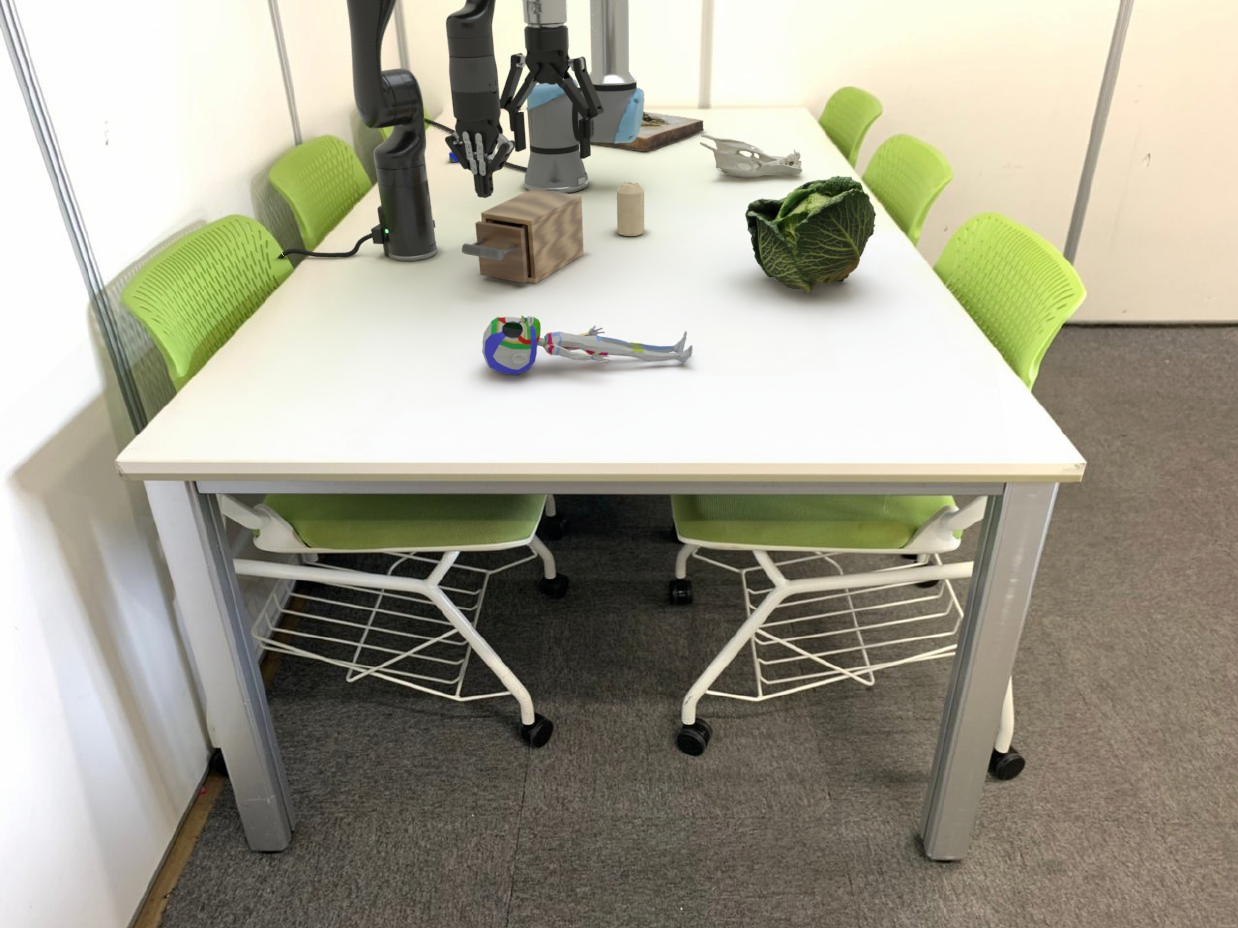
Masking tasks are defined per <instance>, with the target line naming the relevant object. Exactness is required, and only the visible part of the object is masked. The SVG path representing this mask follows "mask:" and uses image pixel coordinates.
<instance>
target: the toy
mask: <svg viewBox="0 0 1238 928" xmlns="http://www.w3.org/2000/svg"><path fill="white" fill-rule="evenodd" d="M596 328H597V326H596V325H594V326H593V327H591V328H590V329H589V330H588V332H584V333H579V334H573V333H569V332H562V331H550V332H547V333H546V334H545V335H544V336H543V337H541V330H542V327H541V322H540V320H539V319H538V318H536V317H535V316H531V315H528V316H527V317H525V316H524V315H521V317H516V316H504V317H503V316H502V317H499V316H496V317H495V318H494V319H492V320H491V321H490V322H489V324H488V326H487V328H486V329H485V331H484V332H483V337H482V348H481V353H482V355H483V358H484V360H485V363H486V366H487V367H488V368H491V369H492V370H494V371H496V372H497V373H502V374H505V375H513V376H517V375H520V374H522V373H525V372H527V371H529V370H530V369H531V367H532V366H533V365H534V364H535V363H536V358H537V354H538V347H542V348H543V349H544V351H545V352H546V354H548V355H550V356H559V357H562V358H567V359H571V360H573V361H578V362H581V361H582V362H583V361H596V362H601V363H605V364H609V363H608V362H612V360H611V359H607V358H610V356H618V357H631V358H634V359H639V360H642V361H646V362H665V361H672V360H677V361H679V362H680V363H683V364H685V363H686V362H687V361H688V360H689V359H690V358H691V357H692V355H693V348H694V347H693V345H691V344H690V345H689V347H687V349H685V345H686V342H687V341H686V340H687V336H688V332H687V330H686V331H684V333H683V336H682V337H681V339H680V340H679V341H678V342H676V344H674V345H656V344H655V345H654V344H645V343H641V342H633V341H632V342H629V341H626V340H622V339H617V338H612V337H608V336H607V337H606V336H600V335H599V334H605V331H600V330H603V329H604V328H603V327H600V328H597V329H596ZM579 350H581V351H583V352H585V353H583V352H577V351H579Z"/></svg>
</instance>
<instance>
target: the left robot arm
mask: <svg viewBox="0 0 1238 928" xmlns="http://www.w3.org/2000/svg"><path fill="white" fill-rule="evenodd" d="M345 1H346V9H347V15H348V16H347V17H348V23H349V33H350V49H351V51H350V52H351V70H352V88H353V97H354V103H355V107H356V110H357V114H358V116H359V118H360V120H361V122H362V123H363V124H364V125H365V127H367V128H368V129H371V130H380V129H385V128H390V127H392V130H391V132H390V134H389V136H388V137H387V138H386V139H385V140H384V141H382V142H381V143H380V144H378V145H377V146H376V147H375V148H374V150H373V152H372V153H373V161H374V168H375V175H376V180H377V186H378V187H377V188H378V193H379V199H380V205H379V206H378V207H377V215H378V222H379V223H378V224H377V225H375V226H373V227H372V228H370V232H371V233H368V234H366V235H364V236H362V237H361V238H359V239H358V240H357V241H356V243H355V245H354V247H353V249H352V250H350V251H347V252H316V251H310V250H306V249H302V248H288V249H286V250H284V251H282V252H281V253H283V255H284V256H283V255H282V254H281V253H280V254H279V255H278V257H277V259H278V260H281V259H284V258H285V257H286V256H288V255H291V254H298V255H304V256H308V257H314V258H328V259H329V258H331V259H333V258H349V257H352V256H354V255H356V254H357V253H358V252H359V250H360V247H361V246H362V245H363V243H365V242H366V241H368V240H370V239H372V244H374V245H382V248H383V253H384V258H385V257H386V258H390V259H392V260H395V261H399V262H416V261H421V260H426V259H430V258H432V257H433V256H435V255H437V253H438V246H437V241H436V233H435V229H436V222H435V220H434V217H433V210H432V203H431V194H430V187H429V179H428V171H427V163H426V162H427V161H426V148H427V136H426V124H425V123H426V122H425V121H424V118H425V109H424V99H423V93H422V89H421V86H420V83H419V81H418V79H417V76H416V75H415V74H414V73H413V72H412V71H411V70H409V69H407V68H402V67H401V68H391V69H383V68H382V49H383V48H382V47H383V41H384V37H385V33H386V30H387V28H388V25H389V23H390V20H391V18H392V15H393V13H394V10H395V7H396V4H397V2H398V0H345ZM496 1H497V0H465V3H464V5H463V7H462V8H460V9H459V10H456V11H454V12H452V13H450V14H449V15H447V17H446V20H445V32H446V40H447V50H448V51H447V52H448V77H449V86H450V94H451V103H452V104H451V105H452V113H453V117H454V118H455V119H456V122H455V125H454V131H455V132H454V133H451V135H448V136H445V138H444V141H445V143H446V145H447V146H448V148H449V150H450V152H451V151H452V152H453V154H454V155H455V157H456V158H457V160H458V161H459V162H458V163H459V165H460V166H461V167H462V169H463V170H468V171H470V172H471V174H472V175H473V184H474V191H475V194H476V196H477V197H478V198H484V199H488V198H489V197H491V196H492V195H493V193H494V190H495V189H494V179H493V178H494V177H493V175H494V174H493V173H495V172H497V171H501V170H502V169H503V167H504V166H505V165H504V164H505V163H506V162H508V159H509V158H510V157H511V154H512V153H513V151H514V150H515V146H516V144H515V142H514V139H510V140H509V139H508V138H507V137H506V136H505V135H504V129H503V127H502V124H501V122H500V119H501V115H502V111H501V110H502V109H500V98H501V95H500V85H499V75H498V73H499V71H498V66H497V61H496V55H495V44H494V32H493V21H494V15H495V9H496ZM382 69H383V70H382ZM496 150H497V151H496Z"/></svg>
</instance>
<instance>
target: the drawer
mask: <svg viewBox="0 0 1238 928" xmlns="http://www.w3.org/2000/svg"><path fill="white" fill-rule="evenodd" d="M474 225H475V226H474V227H475V234H476V241H475V242H474V243H464V244H462V247H461V252H462V254H464V255H468V256H473V257H478V263H479V272H480V275H481V276H486V277H491V278H495V279H502V280H505V281H506V280H507V281H512V282H517V283H522V284H525V283H528V282H527V281H528V276H529V275H530V274H531V265H530V251H529V237H528V225H524V224H517V223H511V222H505V221H498V220H492V219H491V220H489V221H488V223H487V222H482V220H479V221H476V222H475V223H474Z"/></svg>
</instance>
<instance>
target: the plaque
mask: <svg viewBox="0 0 1238 928" xmlns="http://www.w3.org/2000/svg"><path fill="white" fill-rule="evenodd" d="M704 130H705V129H704V120H702V119H698V118H693V117H685V116H679V115H669V114H663V113H659V112H650V111H644V110H643V117H642V122H641V126H640V130H639V133H638V135H637V137H636V139H635V140H634V141H633V142H630V143H617V144H614V143H605V142H590V144H593V145H597V146H598V145H599V146H607V147H612V148H620V149H625V150H632V151H640V152H648V151H654V150H656V149H659V148H662V147H663V146H664V147H665V146H667V145H670V144H672V143H676V142H680V141H682V140H684V139H687V138H691V137H692V136H694V135H696V134H698V133H700V132H704Z"/></svg>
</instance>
